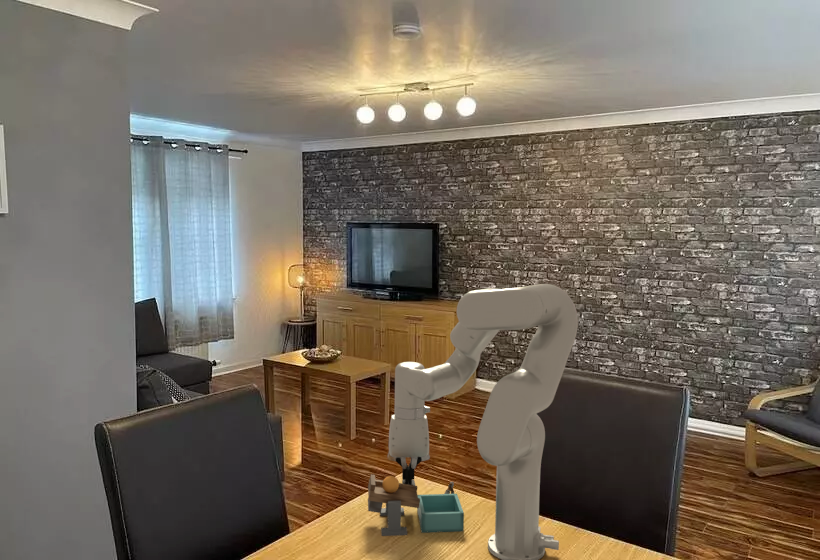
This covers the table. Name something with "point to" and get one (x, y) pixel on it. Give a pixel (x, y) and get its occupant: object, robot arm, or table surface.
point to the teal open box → (440, 513)
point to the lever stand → (393, 519)
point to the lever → (391, 495)
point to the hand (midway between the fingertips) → (408, 481)
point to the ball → (390, 484)
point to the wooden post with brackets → (450, 488)
